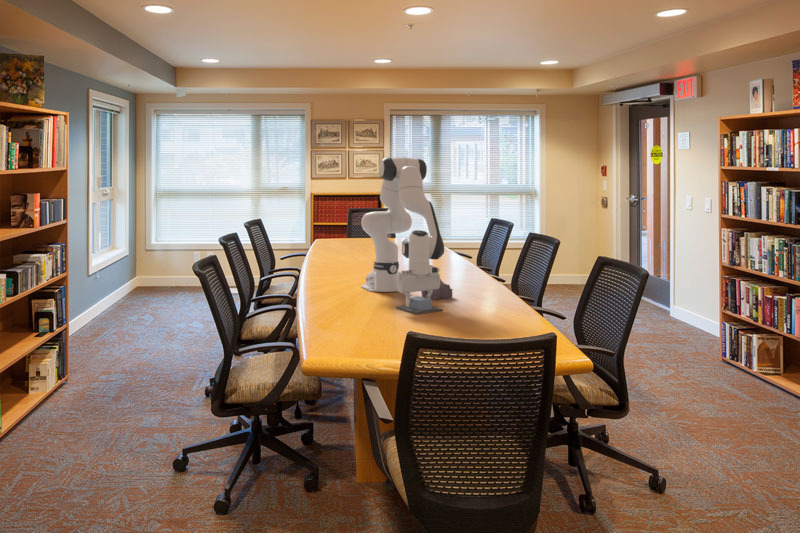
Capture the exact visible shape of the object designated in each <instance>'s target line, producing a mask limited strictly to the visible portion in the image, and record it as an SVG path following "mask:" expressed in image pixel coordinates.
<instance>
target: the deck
mask: <svg viewBox="0 0 800 533" xmlns="http://www.w3.org/2000/svg"><path fill="white" fill-rule="evenodd" d="M409 296H410V298H412V302H411V303H408V302H407V297H406V296H405V305H406V307H410V308H413V309H416V310H420V311H422V310H429V309H432V306H433V300H431V299H427V298H424V297H422V296H420V295H413V296H411V295H409Z"/></svg>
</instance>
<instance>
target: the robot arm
mask: <svg viewBox="0 0 800 533" xmlns="http://www.w3.org/2000/svg"><path fill="white" fill-rule="evenodd" d="M427 169H428V166H427V164H426V162H425V160H423V159H421V158H412V157H384V158H382V160H381V161H380V162H379V167H378V171H379V176H380V177H381V178H382V183H381V188H380V195H379V200H380V203H381V204H382V205H384V206H385V207H387V208H388V209H387V210H383V211H382V210H381V211H378V210H376V211H370V212H367V213H364V215H363V216H362V218H361V221H360V222H361V223H360V224H361V228H362V231H364V232H365V233H366V234H367V235H368V236H369V237H370V238H371V240H372V241H373V244H374V250H375V253H374V254H375V261H373V262H372V263H373V264H372V265H373V269H372V270H370V272H369V273H368V274H367V275H366V278H365V283H364V284H362V285H361V286H360V287H361V288H363V289H365V290H366V291H368V292H380V293H381V292H383V293H392V292H398V293H401V294H404V296H405V298H406V297H407V302H408V303H411V302H412V298H410V296H411V293H416V292H421V291H426V290H427V292H428V294H427V296H425V298H427V299H430V296H431V295H432V293H433V290H434V289H439V287H440V279H441V276H440V273H439V272H440V267H436V266H433V265H430V264H431V262H430V260H434V261H435V260H439V259H441V257H443V255H444V253H445V244H444V241H443V238H442V237H443V236H442V235H441V231H440V227H439V224H438V220H437V216H436V212H435V208H434V206H433V203H432V201H429V200H428V199H427V197H426V195H425V192H424V184H423V180H425V178H426V176H427V174H428V173H427V172H428V170H427ZM406 210H407V211H409V212H411V213H415V214H416V215H417V214H418V215H419V216H422V217H423V218H424V219H425V222H426V225H427V229H428V232H427V231H425V230H418V229H415V230H412V231H411V232H410V234H409V236H408V237H406V238H404V239H403V241H402V242H401V254H402V256H404V257H405V258H406V259H408V270H402V271H400V270H399V269H400V263H399V247H398V245H397V244H396V243H395V242H394V241H392V240H390V239H389V236H388V235H389V234H401V233H406V232H408V231H409V230H410V229H411V227H412V223H413V219H412V217H411V215H410V214H409V212H407V211H406Z"/></svg>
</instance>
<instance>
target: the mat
mask: <svg viewBox="0 0 800 533" xmlns="http://www.w3.org/2000/svg"><path fill="white" fill-rule="evenodd" d="M395 309H396V310H399V309H400V311H402V310H403V312H406V313H409V314H412V315H422V314H430V313H436V312H443V308H441V307H436V306H433V305H432V309H429V310H422V311H420V310H416V309H413V308H410V307H406V304H404V305H397V306H395Z"/></svg>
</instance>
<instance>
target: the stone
mask: <svg viewBox="0 0 800 533" xmlns="http://www.w3.org/2000/svg"><path fill="white" fill-rule="evenodd" d="M450 285H451V284H447V283H444V281H443V280H442V279H441V278H440V287H439V289H434V290H433V293H432V295H431V296H430V299H431V300H432V301H435V300H442V299H443V300H445V298H446V300H447V299H452V298H453V288H451V286H450ZM420 292H421V297H424V298H425V296H427V294H428V292H427V290H426V291H420Z"/></svg>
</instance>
